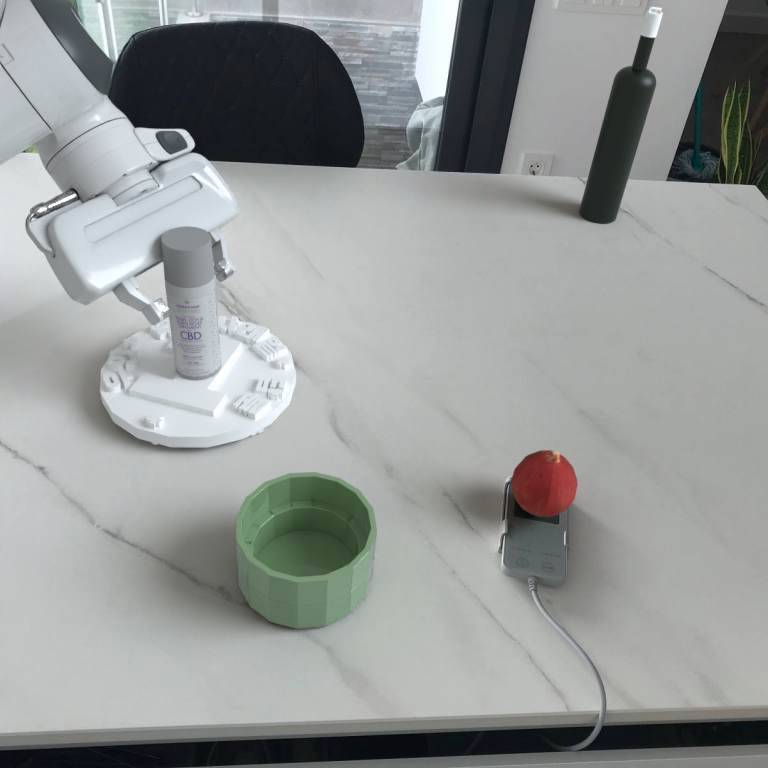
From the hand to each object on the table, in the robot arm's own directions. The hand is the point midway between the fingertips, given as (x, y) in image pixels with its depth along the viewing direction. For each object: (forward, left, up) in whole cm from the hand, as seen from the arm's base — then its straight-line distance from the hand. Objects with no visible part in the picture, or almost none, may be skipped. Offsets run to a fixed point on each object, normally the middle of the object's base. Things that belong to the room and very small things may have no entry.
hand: (197, 297), depth 75 cm
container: (0, +1, -9) cm, 9 cm away
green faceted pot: (-11, -23, -12) cm, 28 cm away
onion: (+8, -35, -12) cm, 38 cm away
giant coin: (0, +1, -12) cm, 12 cm away
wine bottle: (+69, -14, -12) cm, 71 cm away
